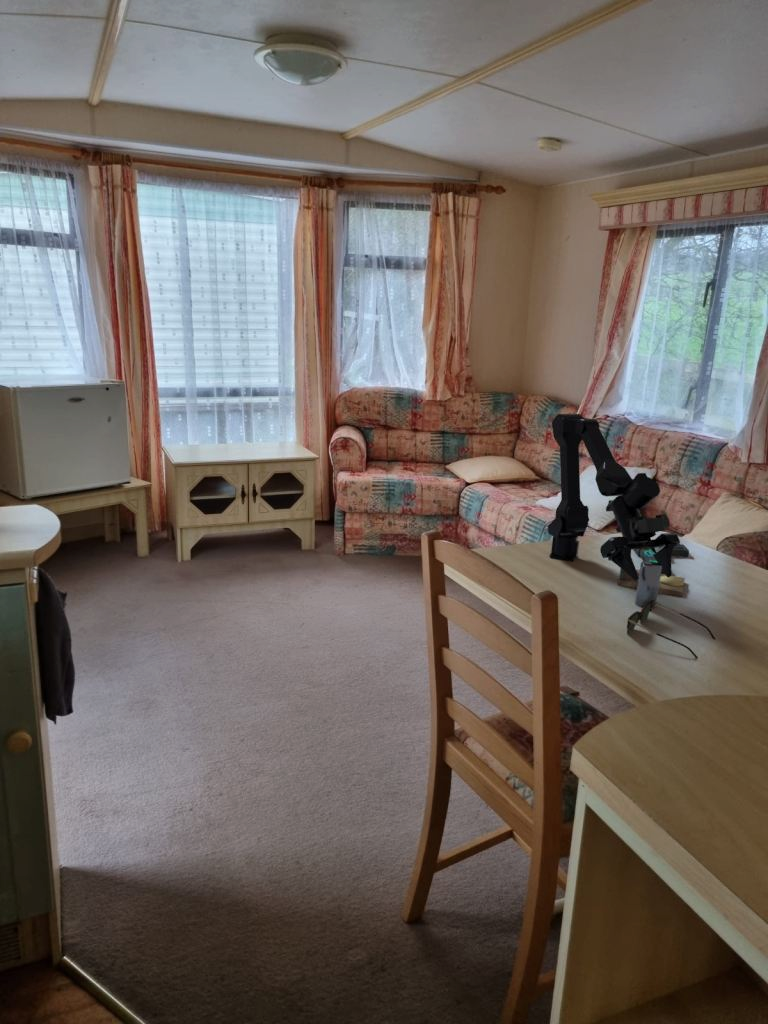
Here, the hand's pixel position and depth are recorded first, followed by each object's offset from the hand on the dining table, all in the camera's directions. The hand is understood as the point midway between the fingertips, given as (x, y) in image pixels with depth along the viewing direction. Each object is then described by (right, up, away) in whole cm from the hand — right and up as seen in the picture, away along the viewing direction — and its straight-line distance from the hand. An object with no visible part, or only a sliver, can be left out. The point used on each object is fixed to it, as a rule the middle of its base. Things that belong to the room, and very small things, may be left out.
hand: (653, 578), depth 163 cm
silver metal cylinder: (-1, -6, +3) cm, 7 cm away
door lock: (+6, -3, +17) cm, 18 cm away
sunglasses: (-1, -12, -13) cm, 18 cm away
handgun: (+17, +1, +35) cm, 38 cm away
